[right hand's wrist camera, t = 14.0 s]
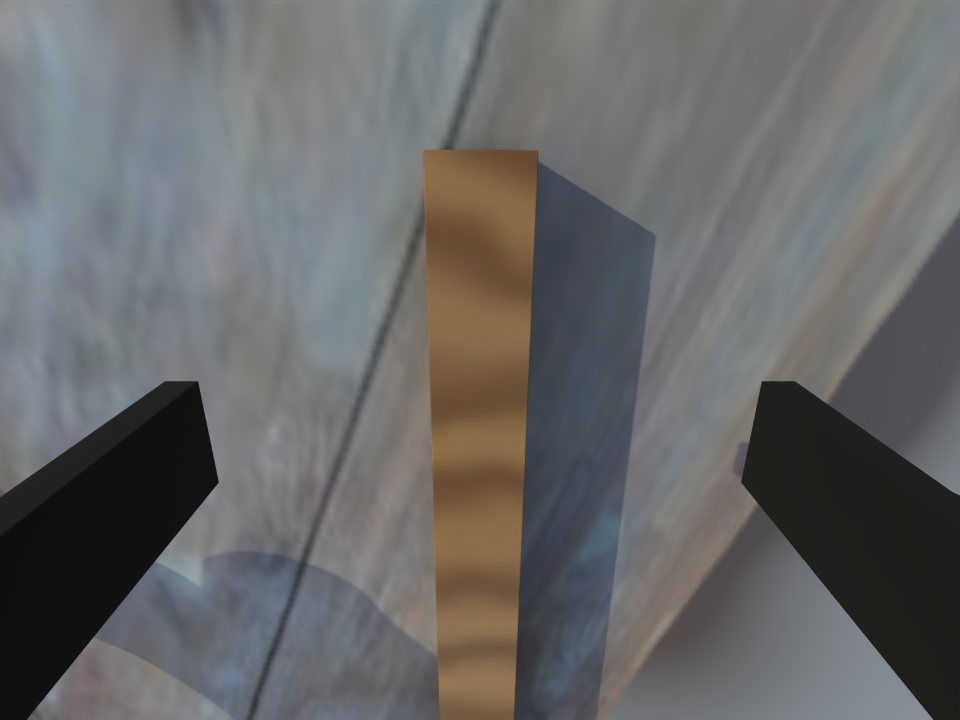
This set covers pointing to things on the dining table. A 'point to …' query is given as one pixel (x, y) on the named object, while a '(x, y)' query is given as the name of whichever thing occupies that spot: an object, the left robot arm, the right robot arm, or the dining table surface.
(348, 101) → the dining table surface
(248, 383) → the dining table surface
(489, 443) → the bar
